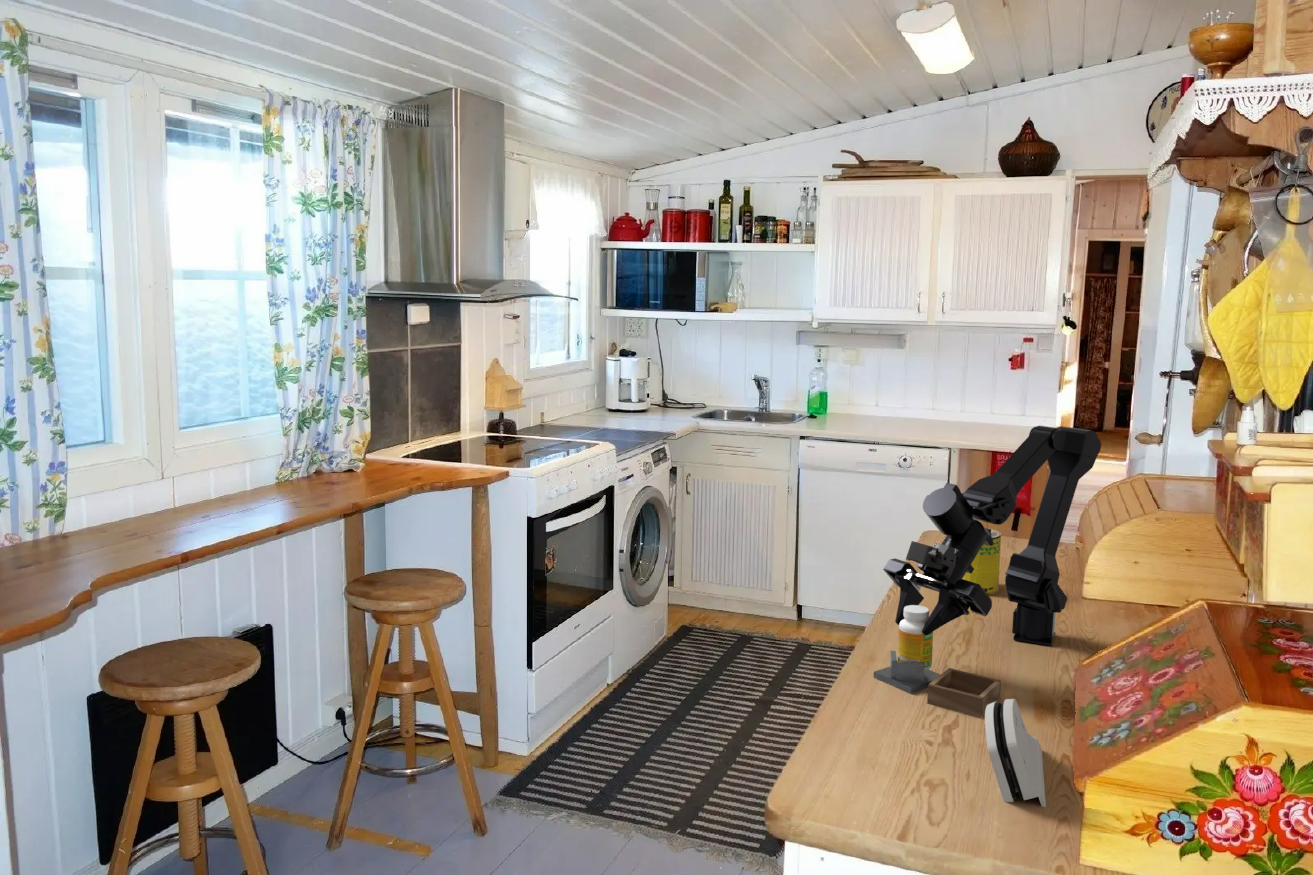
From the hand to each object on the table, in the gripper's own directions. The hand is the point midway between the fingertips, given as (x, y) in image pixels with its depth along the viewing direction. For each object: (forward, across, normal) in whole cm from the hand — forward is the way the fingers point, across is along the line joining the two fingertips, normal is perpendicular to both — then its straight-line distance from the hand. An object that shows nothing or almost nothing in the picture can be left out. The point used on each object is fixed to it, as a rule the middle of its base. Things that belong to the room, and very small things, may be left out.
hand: (910, 628), depth 165 cm
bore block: (+6, +10, +7) cm, 14 cm away
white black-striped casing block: (+15, +29, -2) cm, 33 cm away
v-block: (+6, 0, +6) cm, 9 cm away
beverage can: (-27, -25, +41) cm, 55 cm away
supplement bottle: (+4, 0, +6) cm, 7 cm away
